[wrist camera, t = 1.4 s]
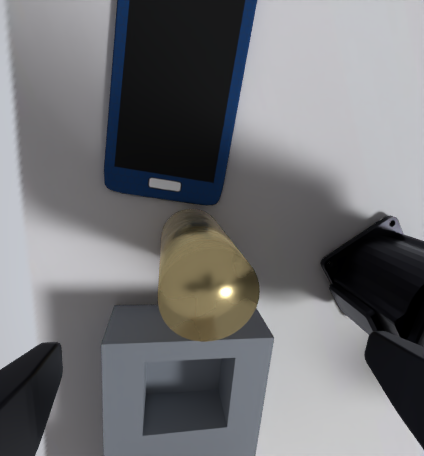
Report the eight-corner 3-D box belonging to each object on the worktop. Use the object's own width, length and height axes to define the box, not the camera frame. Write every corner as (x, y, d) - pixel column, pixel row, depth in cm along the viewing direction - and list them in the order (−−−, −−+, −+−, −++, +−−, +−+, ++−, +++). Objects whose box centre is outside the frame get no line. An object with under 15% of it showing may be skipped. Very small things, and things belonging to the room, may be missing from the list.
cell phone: (104, 189, 17) (101, 190, 16) (126, -83, 13) (124, -96, 13) (217, 206, 18) (219, 208, 17) (261, -35, 15) (266, -45, 14)
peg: (200, 197, 17) (227, 228, 10) (230, 244, 19) (276, 305, 11) (149, 230, 17) (135, 288, 10) (183, 276, 19) (195, 358, 11)
